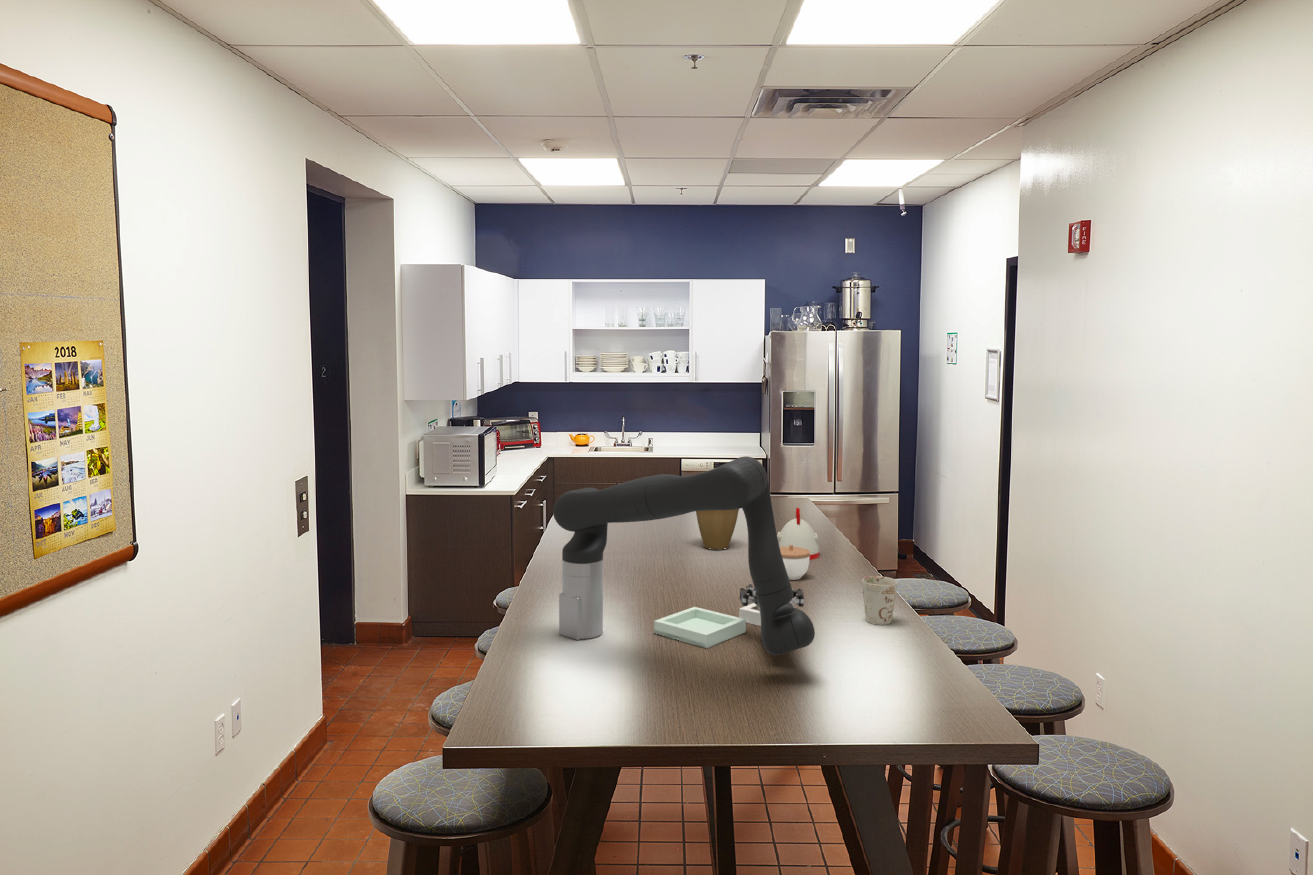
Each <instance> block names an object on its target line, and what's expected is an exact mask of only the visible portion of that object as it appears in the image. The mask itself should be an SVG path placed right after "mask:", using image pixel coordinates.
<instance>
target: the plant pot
mask: <svg viewBox="0 0 1313 875" xmlns="http://www.w3.org/2000/svg"><path fill="white" fill-rule="evenodd" d="M739 511H740V509H736V510H707V511H695V513H696V518H697V525H698V528H699V534H700V536H701V540H702V543H703V546H704V548H705V547H706V548H705V549H707V548H711V549H724V548H727V549H728V547H729V545H730V543H731V540H732V537H733V534H734V531H735V528H736V524H737V519H738V516H739ZM711 549H710V550H711ZM724 550H725V549H724Z"/></svg>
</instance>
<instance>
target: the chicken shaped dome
mask: <svg viewBox="0 0 1313 875" xmlns="http://www.w3.org/2000/svg"><path fill="white" fill-rule="evenodd" d="M800 511H801V510H800V507H795V518H792V519H790V520H789V521H788V522H786V524H785V525H784V526H783V527H782V529H781V530H780V531H778V532H777V538H778V542H779V547H789V545H793V547H799V548H804V549H807V550H809V551H810V558H809V561H810V560H811V561H812V560H816V559H819V557H820V542H819V537H818V534H817V532H815V531H814V529H813V528H812V527H811V525H810V524H809V523H808V522H807V521H806V520H804V519H803V518H801V512H800Z"/></svg>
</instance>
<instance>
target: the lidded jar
mask: <svg viewBox="0 0 1313 875" xmlns="http://www.w3.org/2000/svg"><path fill="white" fill-rule="evenodd" d="M780 551H781V555H782V558H783V562H784V565H785V568H786V571H787V574H788V578H789V581H796V580H801V578H802V577H803V576H804V575H805V574H806V573H807V571H808V569H809V565H810V560H809V558H810V551H809V550H807V549H804V548H799V547H793V545H789V547H780Z"/></svg>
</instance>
